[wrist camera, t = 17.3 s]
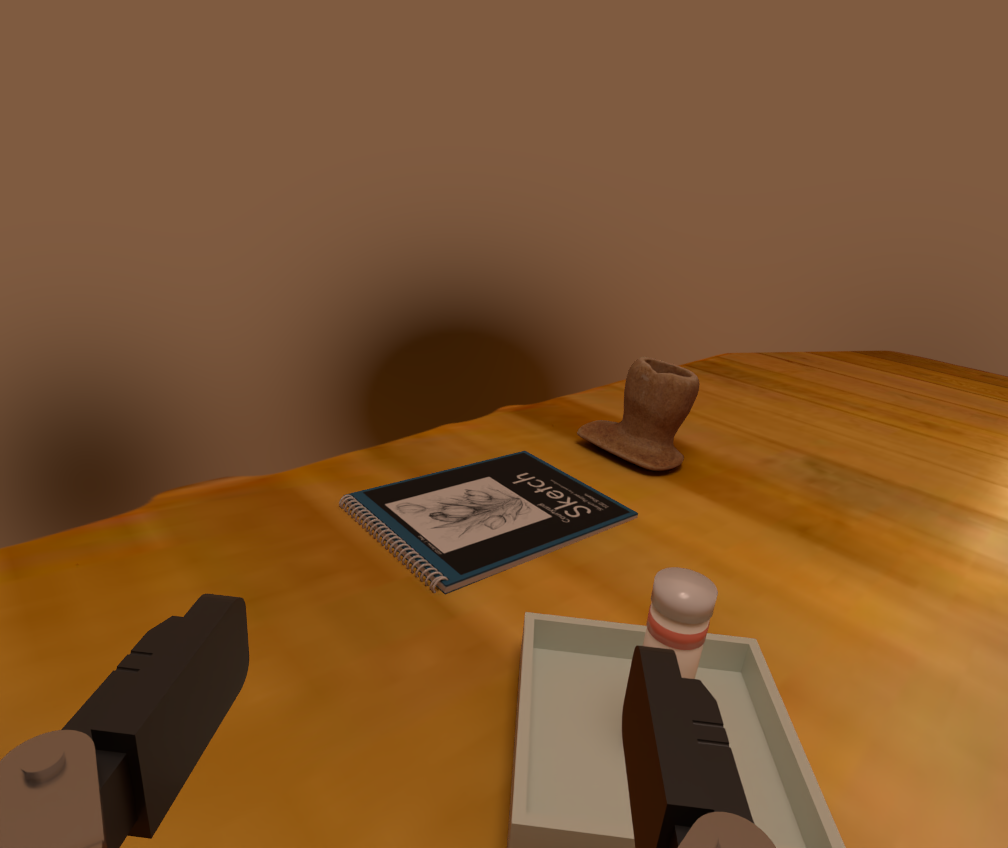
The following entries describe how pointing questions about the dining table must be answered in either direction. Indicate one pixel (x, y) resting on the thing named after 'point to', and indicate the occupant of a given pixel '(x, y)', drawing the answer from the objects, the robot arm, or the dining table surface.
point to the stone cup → (648, 415)
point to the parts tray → (599, 746)
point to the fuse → (681, 615)
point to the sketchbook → (483, 517)
